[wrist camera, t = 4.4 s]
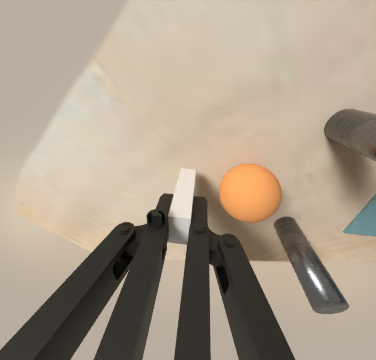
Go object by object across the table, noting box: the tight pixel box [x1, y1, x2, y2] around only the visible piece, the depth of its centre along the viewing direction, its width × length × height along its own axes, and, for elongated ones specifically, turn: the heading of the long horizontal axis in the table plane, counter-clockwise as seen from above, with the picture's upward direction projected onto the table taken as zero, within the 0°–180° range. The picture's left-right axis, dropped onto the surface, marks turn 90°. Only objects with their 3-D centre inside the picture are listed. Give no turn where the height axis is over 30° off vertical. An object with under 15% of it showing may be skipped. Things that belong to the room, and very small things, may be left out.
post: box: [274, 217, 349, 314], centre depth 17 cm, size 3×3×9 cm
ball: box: [219, 164, 281, 222], centre depth 15 cm, size 6×6×6 cm
